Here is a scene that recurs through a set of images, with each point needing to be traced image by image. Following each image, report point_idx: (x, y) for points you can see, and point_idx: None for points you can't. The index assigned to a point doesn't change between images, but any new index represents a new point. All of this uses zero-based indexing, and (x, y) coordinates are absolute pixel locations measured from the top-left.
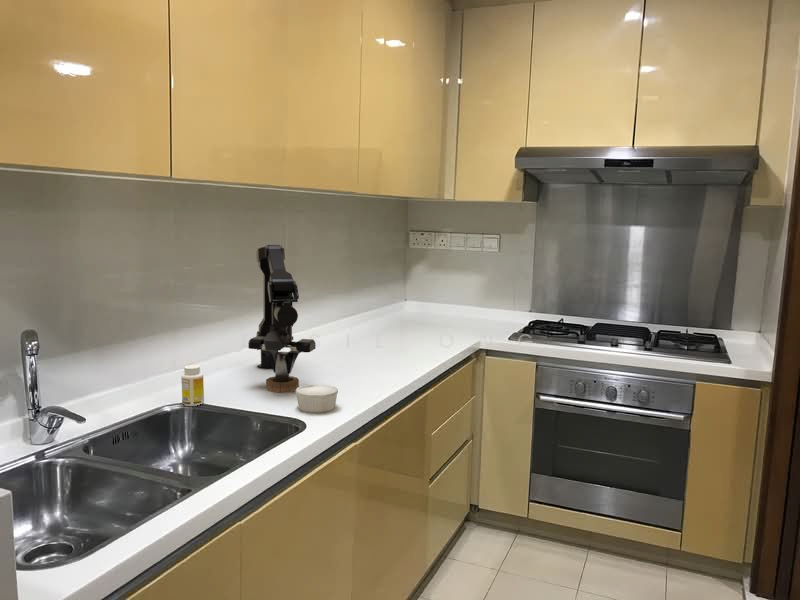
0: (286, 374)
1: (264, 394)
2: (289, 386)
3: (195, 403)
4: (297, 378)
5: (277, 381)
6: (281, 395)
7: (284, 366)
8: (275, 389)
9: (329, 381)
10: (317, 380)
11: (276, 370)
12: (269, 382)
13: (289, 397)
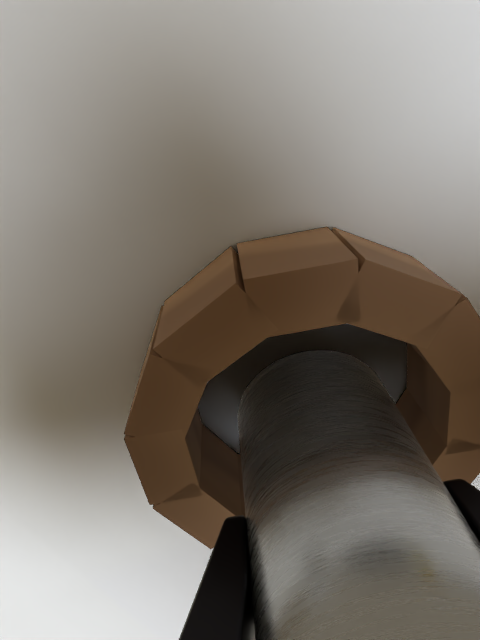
0: (252, 486)
1: (372, 82)
2: (153, 335)
3: None
4: (191, 531)
5: (343, 370)
6: (152, 138)
7: (291, 599)
8: (298, 240)
9: (70, 634)
10: (162, 621)
11: (422, 487)
12: (418, 276)
13: (3, 99)
